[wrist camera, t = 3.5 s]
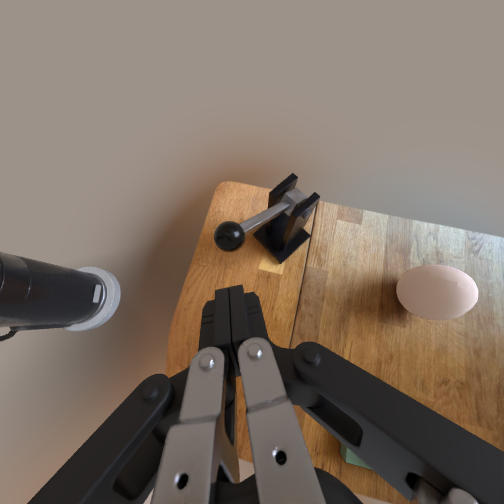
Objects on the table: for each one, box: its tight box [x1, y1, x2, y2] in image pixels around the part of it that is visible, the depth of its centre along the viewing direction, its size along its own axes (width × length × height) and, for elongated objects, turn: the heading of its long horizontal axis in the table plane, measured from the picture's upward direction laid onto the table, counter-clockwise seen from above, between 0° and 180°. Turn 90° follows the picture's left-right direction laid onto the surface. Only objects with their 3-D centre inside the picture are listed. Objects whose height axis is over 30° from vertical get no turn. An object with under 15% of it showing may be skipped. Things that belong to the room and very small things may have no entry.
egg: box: [396, 264, 478, 320], centre depth 33 cm, size 9×9×11 cm
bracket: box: [253, 173, 320, 264], centre depth 35 cm, size 8×8×16 cm
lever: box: [214, 188, 308, 252], centre depth 26 cm, size 15×3×3 cm, turn 133°
